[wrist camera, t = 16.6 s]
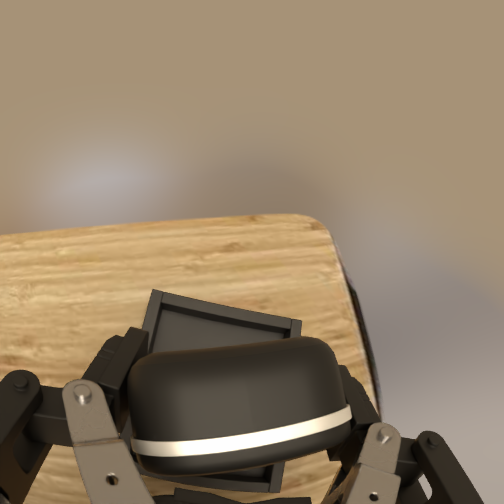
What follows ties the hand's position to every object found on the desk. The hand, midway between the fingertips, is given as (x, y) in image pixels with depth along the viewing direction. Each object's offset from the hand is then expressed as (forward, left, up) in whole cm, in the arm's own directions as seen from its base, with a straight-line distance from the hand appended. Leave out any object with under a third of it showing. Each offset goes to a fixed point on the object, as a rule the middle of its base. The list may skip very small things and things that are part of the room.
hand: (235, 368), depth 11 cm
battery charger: (0, -1, -7) cm, 7 cm away
